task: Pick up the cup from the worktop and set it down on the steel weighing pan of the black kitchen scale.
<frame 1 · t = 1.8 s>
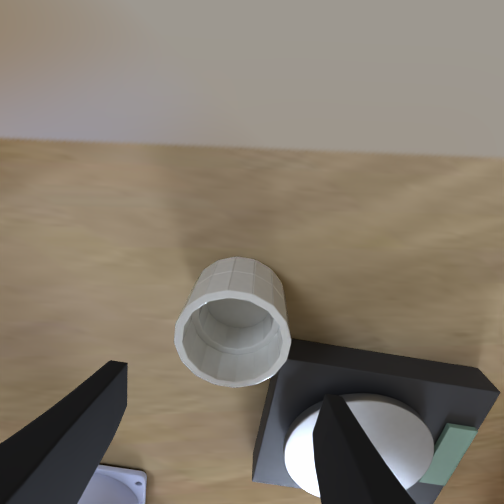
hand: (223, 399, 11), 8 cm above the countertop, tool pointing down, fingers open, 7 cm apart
scale: (355, 414, 21), on the countertop
scale pan: (356, 452, 18), point 3 cm above the countertop, slide at 0.0 cm
cup: (239, 295, 18), on the countertop
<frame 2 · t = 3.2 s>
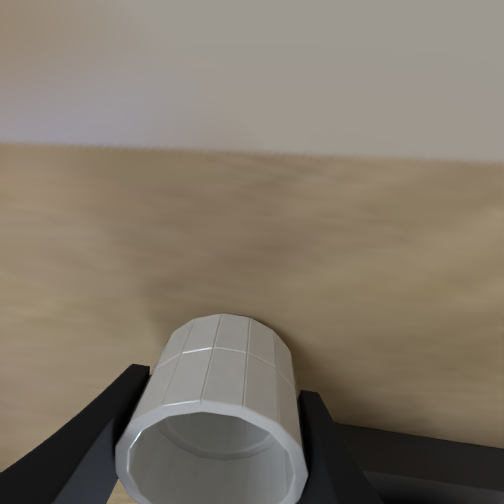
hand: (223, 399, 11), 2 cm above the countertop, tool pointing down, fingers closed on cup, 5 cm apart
cup: (228, 362, 13), on the countertop, touching gripper
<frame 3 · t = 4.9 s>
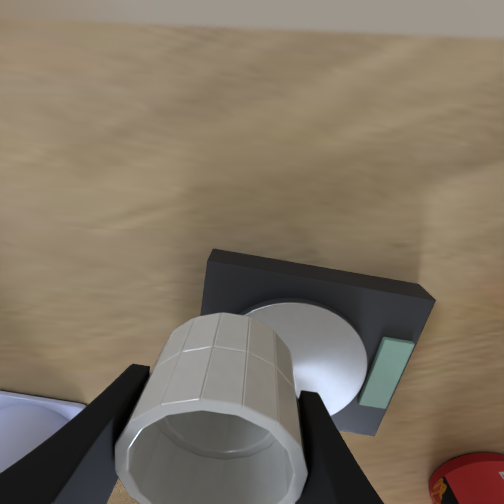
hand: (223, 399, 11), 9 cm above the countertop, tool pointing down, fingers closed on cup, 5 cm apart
scale: (297, 338, 20), on the countertop
canned food: (473, 478, 25), on the countertop
scale pan: (288, 366, 18), point 3 cm above the countertop, slide at 0.0 cm
cup: (228, 361, 13), point 7 cm above the countertop, touching gripper
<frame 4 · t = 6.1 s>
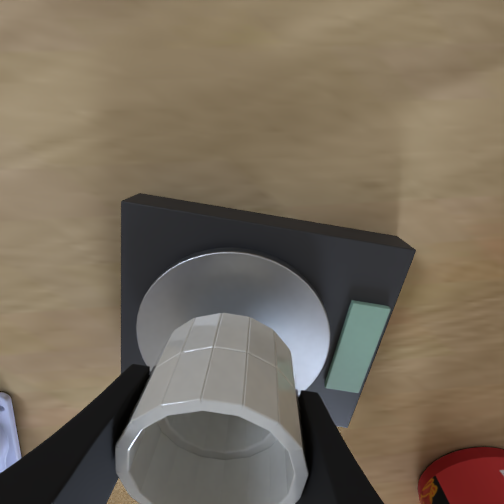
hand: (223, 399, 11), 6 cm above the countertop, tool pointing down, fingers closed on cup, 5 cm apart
scale: (251, 309, 17), on the countertop
canned food: (470, 478, 21), on the countertop
scale pan: (232, 338, 14), point 3 cm above the countertop, slide at 0.0 cm
cup: (228, 361, 13), point 4 cm above the countertop, touching gripper
when the fingers open (5 cm above the countertop, at t = 7.0 s): cup stays where it is, resting on scale pan.
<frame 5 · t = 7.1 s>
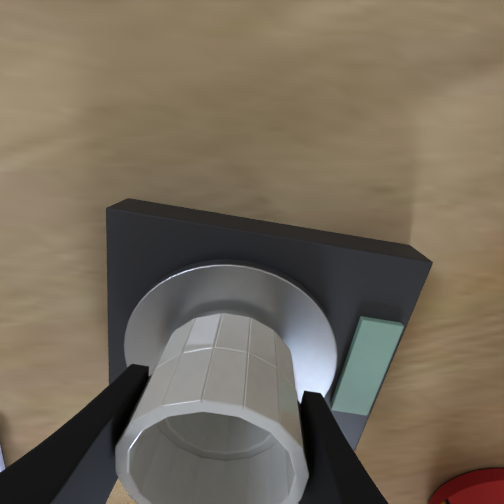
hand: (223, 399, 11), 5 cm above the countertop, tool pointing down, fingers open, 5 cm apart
scale: (251, 323, 15), on the countertop
canned food: (483, 499, 20), on the countertop
scale pan: (230, 357, 13), point 3 cm above the countertop, slide at 0.0 cm, touching cup, scale
cup: (228, 361, 13), point 3 cm above the countertop, touching scale pan
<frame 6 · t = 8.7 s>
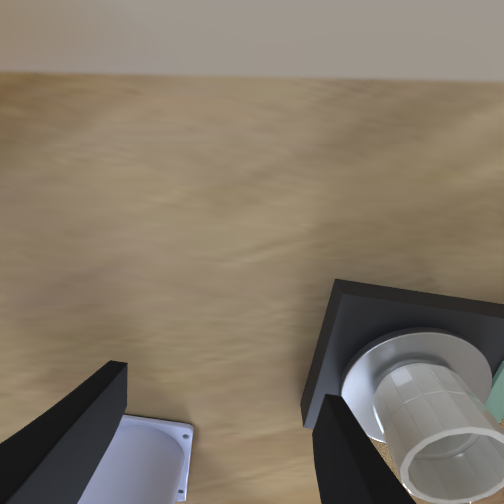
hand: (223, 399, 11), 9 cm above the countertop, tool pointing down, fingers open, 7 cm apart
scale: (405, 360, 21), on the countertop
scale pan: (412, 389, 19), point 3 cm above the countertop, slide at 0.0 cm, touching cup
cup: (414, 393, 18), point 3 cm above the countertop, touching scale pan
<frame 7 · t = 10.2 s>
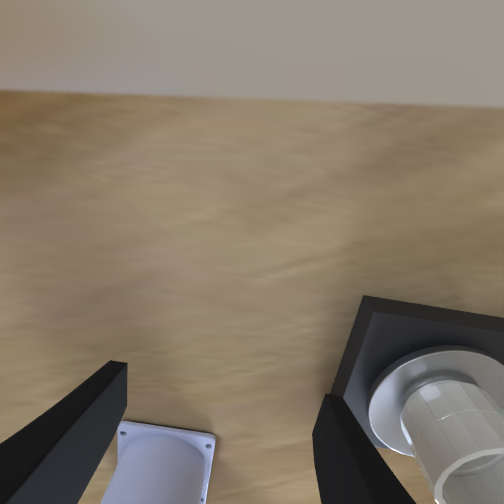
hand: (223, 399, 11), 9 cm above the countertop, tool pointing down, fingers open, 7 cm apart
scale: (428, 374, 22), on the countertop
scale pan: (438, 405, 19), point 3 cm above the countertop, slide at 0.0 cm, touching cup
cup: (441, 408, 19), point 3 cm above the countertop, touching scale pan
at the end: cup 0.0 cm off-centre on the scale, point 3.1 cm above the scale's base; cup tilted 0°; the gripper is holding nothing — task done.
